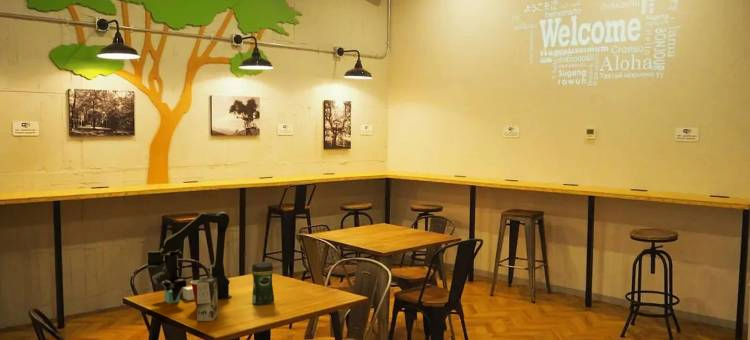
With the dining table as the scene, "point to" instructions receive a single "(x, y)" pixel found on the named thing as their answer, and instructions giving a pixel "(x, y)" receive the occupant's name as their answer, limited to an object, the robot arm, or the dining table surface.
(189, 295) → the cream block
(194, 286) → the plastic cup
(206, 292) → the coffee box
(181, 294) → the walnut block
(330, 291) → the dining table surface
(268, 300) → the coffee jar
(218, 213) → the robot arm
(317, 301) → the dining table surface
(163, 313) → the dining table surface
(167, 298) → the teal block
